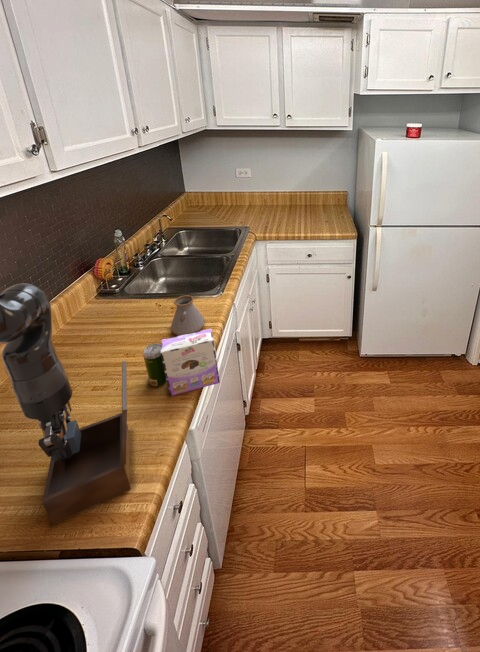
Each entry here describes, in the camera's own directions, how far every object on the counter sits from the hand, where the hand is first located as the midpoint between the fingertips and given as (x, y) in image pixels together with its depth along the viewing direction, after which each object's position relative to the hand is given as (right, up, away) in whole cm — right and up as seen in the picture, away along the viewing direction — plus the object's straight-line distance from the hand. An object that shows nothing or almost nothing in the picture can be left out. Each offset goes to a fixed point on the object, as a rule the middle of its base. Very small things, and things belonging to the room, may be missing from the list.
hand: (66, 446), depth 69 cm
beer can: (+5, 0, +30) cm, 31 cm away
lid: (+9, +6, +3) cm, 12 cm away
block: (0, 0, 0) cm, 0 cm away
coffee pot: (+7, +7, +48) cm, 49 cm away
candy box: (+16, -1, +29) cm, 33 cm away
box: (+3, -10, +6) cm, 12 cm away
